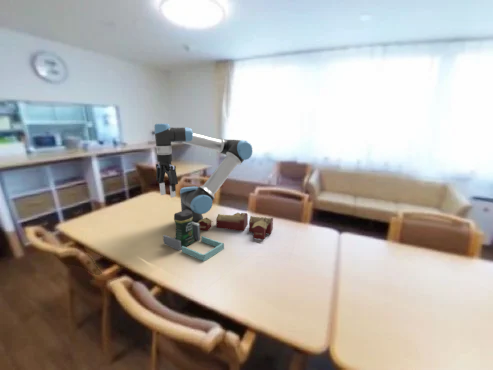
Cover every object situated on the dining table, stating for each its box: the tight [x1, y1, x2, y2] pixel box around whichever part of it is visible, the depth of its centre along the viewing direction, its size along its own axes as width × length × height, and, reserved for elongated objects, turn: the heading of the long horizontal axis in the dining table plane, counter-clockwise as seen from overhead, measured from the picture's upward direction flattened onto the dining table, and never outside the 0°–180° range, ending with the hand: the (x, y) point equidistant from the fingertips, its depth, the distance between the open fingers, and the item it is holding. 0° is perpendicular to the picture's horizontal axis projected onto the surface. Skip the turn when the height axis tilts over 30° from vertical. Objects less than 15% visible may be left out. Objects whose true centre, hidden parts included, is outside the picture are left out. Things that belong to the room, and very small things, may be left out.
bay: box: [162, 222, 201, 252], centre depth 129 cm, size 14×13×10 cm
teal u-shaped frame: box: [181, 235, 225, 262], centre depth 121 cm, size 15×16×3 cm
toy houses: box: [198, 212, 274, 240], centre depth 145 cm, size 45×20×10 cm, turn 76°
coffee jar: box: [173, 209, 195, 247], centre depth 127 cm, size 10×8×19 cm
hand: (168, 195), depth 129 cm, fingers open, 8 cm apart
